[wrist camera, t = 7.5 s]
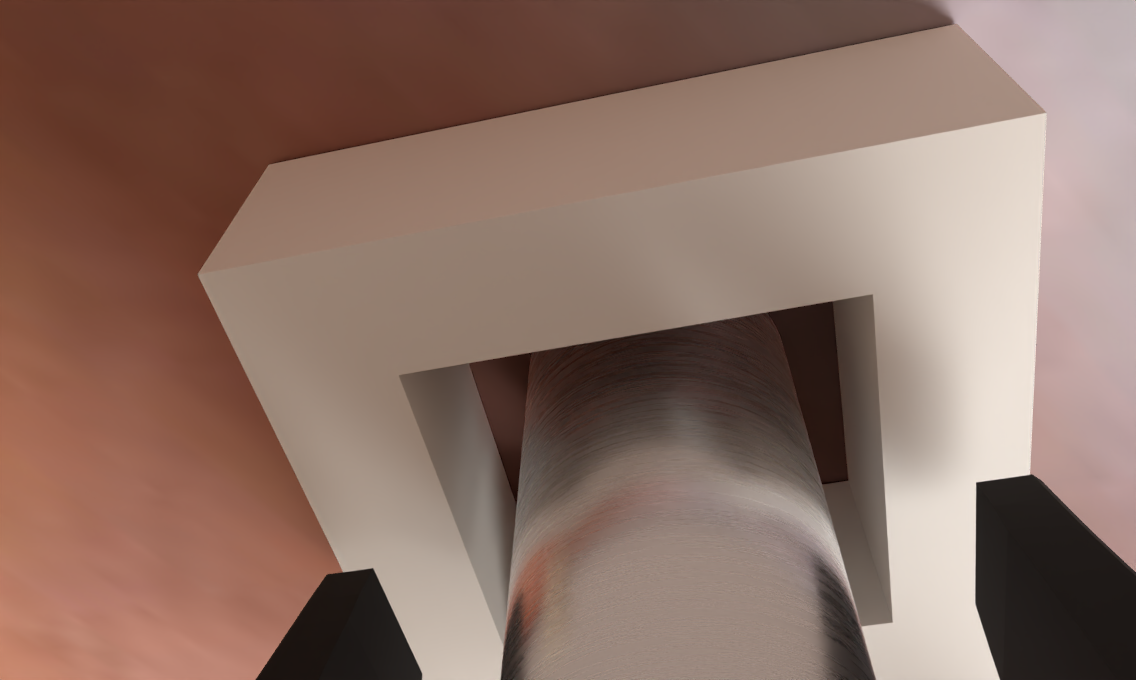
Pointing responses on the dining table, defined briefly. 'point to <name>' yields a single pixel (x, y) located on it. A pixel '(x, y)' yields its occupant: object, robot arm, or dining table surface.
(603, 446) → the peg
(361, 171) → the socket block
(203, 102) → the dining table surface
